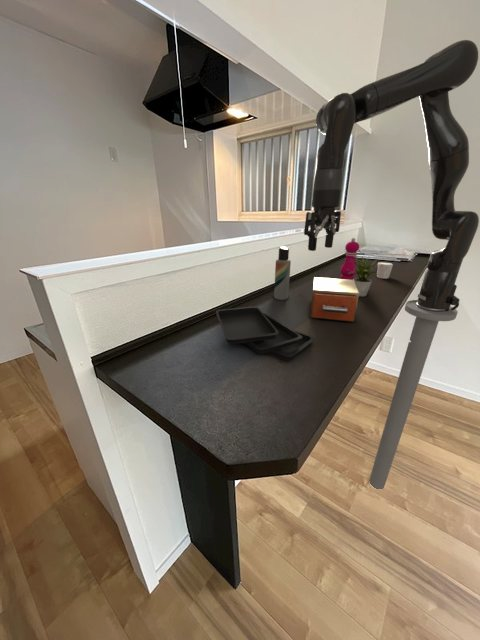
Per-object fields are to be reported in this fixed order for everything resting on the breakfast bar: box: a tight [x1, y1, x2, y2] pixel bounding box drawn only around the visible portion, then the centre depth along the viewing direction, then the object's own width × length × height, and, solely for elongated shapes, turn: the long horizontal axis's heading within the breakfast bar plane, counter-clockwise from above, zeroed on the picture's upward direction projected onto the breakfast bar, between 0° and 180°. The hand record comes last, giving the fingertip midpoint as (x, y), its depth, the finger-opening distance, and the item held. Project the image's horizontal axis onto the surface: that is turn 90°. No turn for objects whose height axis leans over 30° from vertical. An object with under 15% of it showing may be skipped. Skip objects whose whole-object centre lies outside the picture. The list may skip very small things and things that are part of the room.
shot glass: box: [376, 261, 394, 280], centre depth 133 cm, size 7×7×7 cm
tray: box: [215, 306, 316, 362], centre depth 73 cm, size 30×23×5 cm
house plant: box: [347, 255, 383, 297], centre depth 107 cm, size 14×14×16 cm
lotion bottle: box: [273, 246, 292, 301], centre depth 103 cm, size 6×6×20 cm
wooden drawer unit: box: [312, 293, 357, 322], centre depth 87 cm, size 19×13×8 cm, turn 164°
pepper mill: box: [339, 237, 360, 280], centre depth 126 cm, size 7×7×20 cm
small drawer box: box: [309, 276, 360, 323], centre depth 91 cm, size 16×14×10 cm
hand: (320, 248), depth 79 cm, fingers open, 8 cm apart
